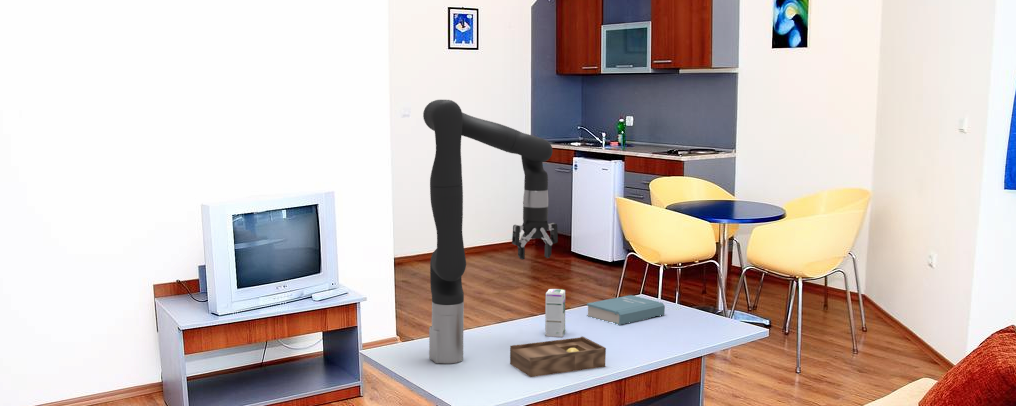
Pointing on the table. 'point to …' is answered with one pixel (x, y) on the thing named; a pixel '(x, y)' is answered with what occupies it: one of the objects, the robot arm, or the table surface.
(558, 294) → the syrup box
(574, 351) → the ball
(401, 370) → the table surface
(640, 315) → the book
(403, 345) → the table surface
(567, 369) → the wooden tray with hole
